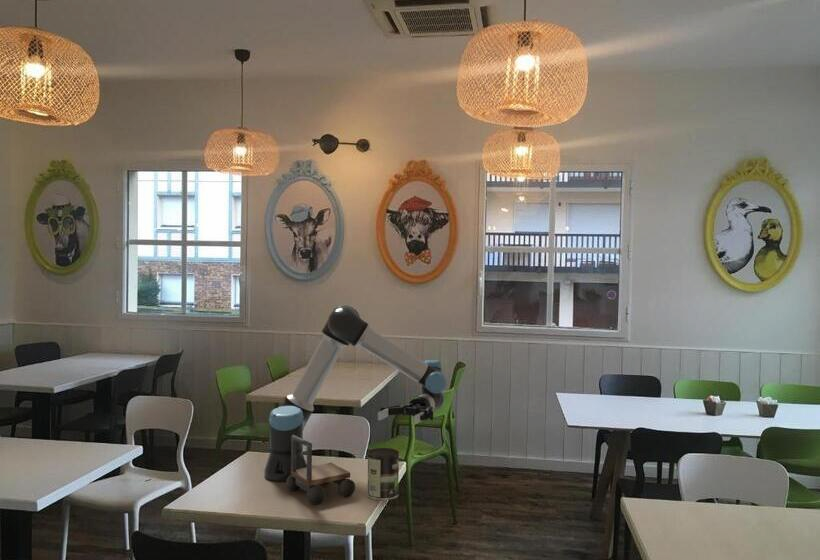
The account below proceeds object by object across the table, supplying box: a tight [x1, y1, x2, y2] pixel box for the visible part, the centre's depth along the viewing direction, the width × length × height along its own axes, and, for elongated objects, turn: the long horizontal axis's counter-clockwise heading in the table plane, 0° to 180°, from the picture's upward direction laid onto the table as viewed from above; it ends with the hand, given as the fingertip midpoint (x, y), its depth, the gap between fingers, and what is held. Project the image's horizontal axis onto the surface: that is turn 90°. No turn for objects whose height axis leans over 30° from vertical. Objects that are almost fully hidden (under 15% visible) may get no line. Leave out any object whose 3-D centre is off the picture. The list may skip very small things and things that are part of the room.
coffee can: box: [367, 447, 400, 501], centre depth 207 cm, size 10×10×14 cm
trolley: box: [285, 435, 356, 505], centre depth 209 cm, size 17×17×19 cm
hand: (396, 418), depth 216 cm, fingers open, 13 cm apart
